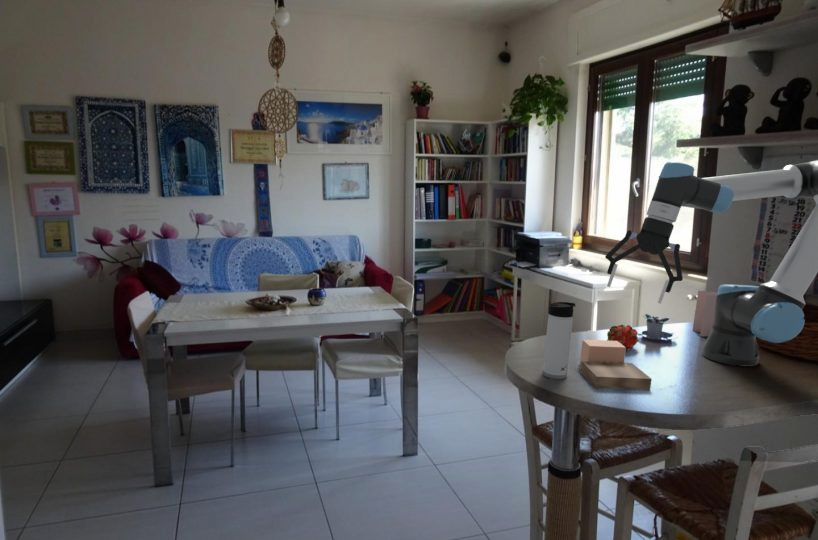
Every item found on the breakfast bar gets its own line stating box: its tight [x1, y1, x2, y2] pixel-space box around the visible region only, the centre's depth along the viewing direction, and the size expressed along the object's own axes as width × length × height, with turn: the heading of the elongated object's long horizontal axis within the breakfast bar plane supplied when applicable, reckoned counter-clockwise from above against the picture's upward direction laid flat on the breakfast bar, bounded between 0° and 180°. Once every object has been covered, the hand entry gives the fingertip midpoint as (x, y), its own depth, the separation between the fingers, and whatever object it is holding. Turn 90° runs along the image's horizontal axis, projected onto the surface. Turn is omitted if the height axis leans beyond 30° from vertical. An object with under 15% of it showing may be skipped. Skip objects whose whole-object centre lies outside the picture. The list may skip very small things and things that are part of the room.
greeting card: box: [692, 290, 717, 337], centre depth 196 cm, size 11×7×15 cm, turn 66°
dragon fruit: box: [606, 324, 639, 351], centre depth 175 cm, size 8×8×12 cm
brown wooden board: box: [579, 361, 652, 391], centre depth 147 cm, size 14×12×3 cm
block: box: [579, 339, 627, 365], centre depth 155 cm, size 10×6×7 cm, turn 91°
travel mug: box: [542, 301, 576, 380], centre depth 147 cm, size 6×7×20 cm
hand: (633, 294), depth 153 cm, fingers open, 13 cm apart
